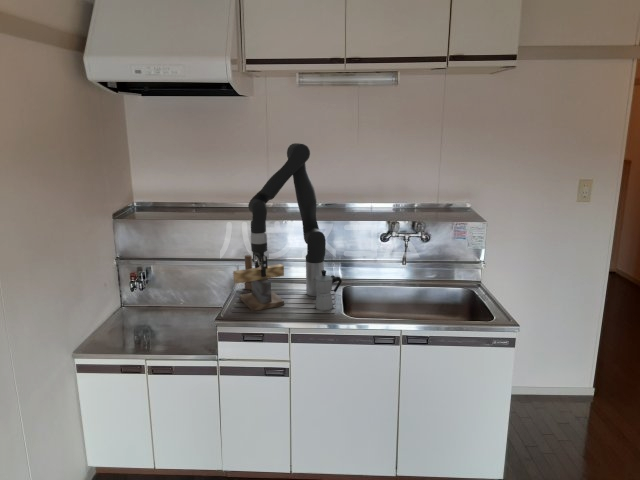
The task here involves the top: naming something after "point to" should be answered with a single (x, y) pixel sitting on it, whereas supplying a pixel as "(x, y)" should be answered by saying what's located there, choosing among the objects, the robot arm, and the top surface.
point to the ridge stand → (261, 296)
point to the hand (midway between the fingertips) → (260, 274)
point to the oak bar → (258, 273)
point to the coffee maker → (325, 290)
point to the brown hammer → (248, 266)
